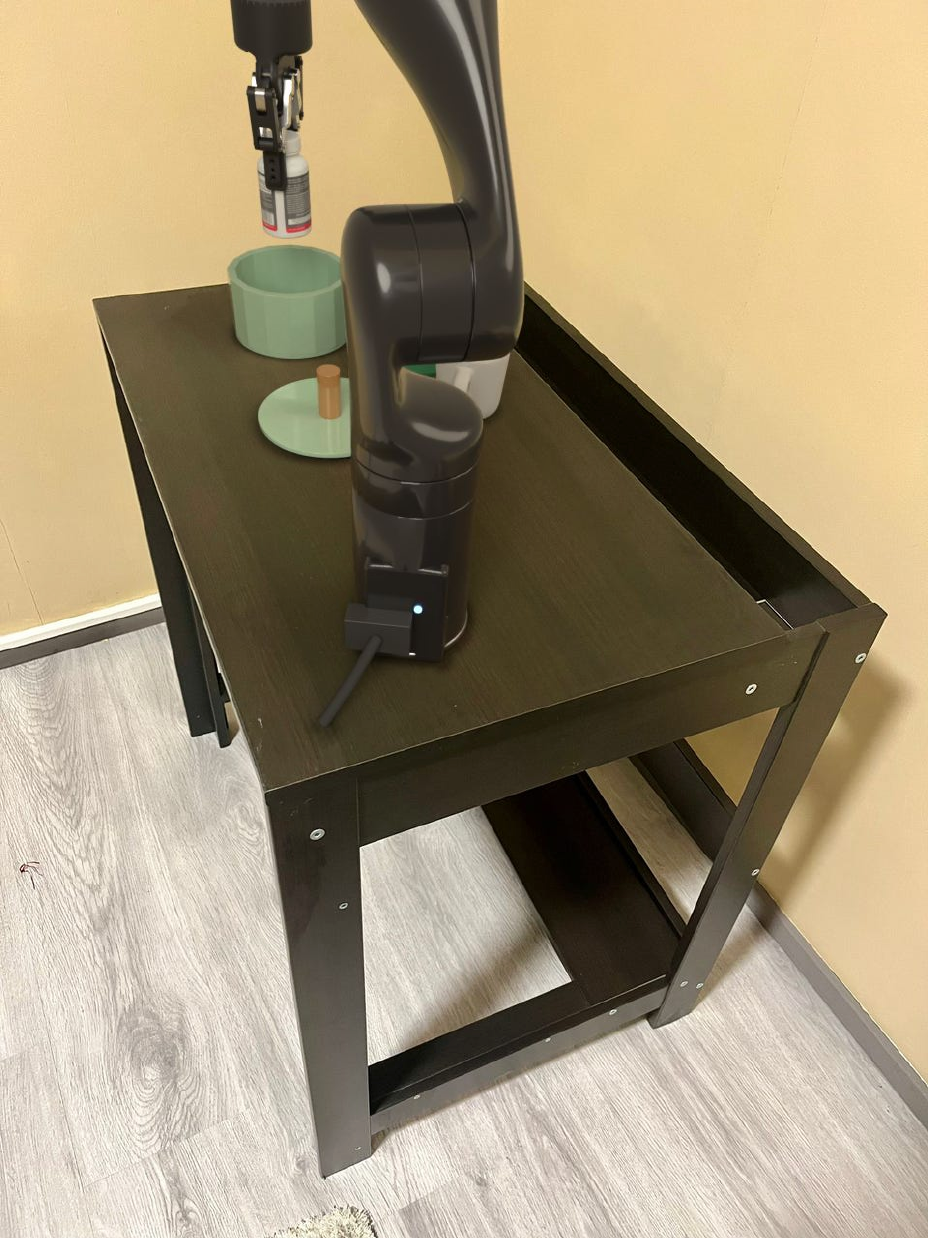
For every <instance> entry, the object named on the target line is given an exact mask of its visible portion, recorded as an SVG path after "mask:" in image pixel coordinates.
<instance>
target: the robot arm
mask: <svg viewBox="0 0 928 1238" xmlns="http://www.w3.org/2000/svg"><path fill="white" fill-rule="evenodd" d="M353 1H354V3H355V5H356V7H357V8H358V10H359V11H360V13H361V15H362V16H363V18H364V19H365V21H366V23H367V25H368V26H369V28H370V29H371V31H372V32H373V34H374V35H375V37H376V38H377V40H378V41H379V43H380V44H381V46H382V47H383V48H384V50H385V52H386V53H387V54H388V56H389V57H390V59H391V60H392V62H393V63H394V65H395V66H396V67H397V69H398V70H399V72H400V73H401V75H402V76H403V78H404V80H405V81H406V82H407V84H408V85H409V87H410V89H411V91H412V92H413V94H414V95H415V97H416V99H417V100H418V102H419V104H420V107H421V108H422V110H423V111H424V113H425V115H426V118H427V119H428V122H429V124H430V126H431V128H432V130H433V131H432V132H433V133H434V136H435V139H436V141H437V143H438V144H437V145H438V147H439V149H440V152H441V156H442V158H443V162H444V166H445V170H446V172H447V178H448V181H449V186H450V191H451V196H452V202H429V203H428V202H427V203H424V202H423V203H392V204H391V203H389V204H388V203H387V204H386V203H385V204H370V205H363V206H359V207H356V208H355V209H354V210H353V211H351V212H350V214H349V216H348V217H347V218H346V221H345V223H344V227H343V230H342V235H341V239H340V240H341V241H340V256H339V257H340V271H341V289H342V300H343V311H344V321H345V332H346V343H345V344H346V355H347V374H348V375H347V376H348V377H347V378H349V406H350V455H351V456H350V495H351V496H350V497H351V499H350V501H351V502H350V503H351V532H352V533H351V535H352V536H351V538H352V573H353V574H352V575H353V576H352V577H353V579H352V580H353V602H348V603H347V607H346V610H345V615H344V619H343V626H344V627H343V628H344V629H343V631H344V649H345V650H354V651H361V653H359V656H358V657H357V659H356V661H355V663H354V665H352V667H351V669H350V670H349V673H348V674H347V676H346V678H345V679H344V681H343V682H342V684H341V686H340V687H339V688H338V689H337V691H336V692H335V694H334V696H333V697H332V699H331V700H330V701H329V703H328V704H327V706H326V707H325V708H324V710H323V711H322V713H321V714H320V715H319V716H318V718H317V720H316V722H317V723H318V724H320V726H322V727H324V728H326V729H327V728H328V727H329V726H330V725H331V723H332V722H333V720H334V719H335V718H336V716H337V715H338V714H339V712H340V711H341V709H342V708H343V706H344V705H345V703H346V702H347V700H349V697H350V696H351V694H352V693H353V691H354V690H355V689H356V687H357V685H358V684H359V682H360V680H361V678H362V677H363V675H364V674H365V672H366V670H367V669H368V667H369V665H370V663H371V662H372V660H373V659H374V656H376V657H387V658H394V659H400V660H415V661H423V662H433V663H441V662H442V661H443V660H444V659H443V657H444V654H445V652H447V651H448V650H450V649H451V648H453V647H454V646H455V645H456V644H457V643H458V642H459V641H460V640H461V639H462V637H463V636H464V634H465V631H466V629H467V624H468V602H469V601H468V600H469V590H470V578H471V570H472V569H471V568H472V558H473V547H474V537H475V536H474V535H475V527H476V516H477V506H478V505H477V504H478V496H479V487H480V475H481V468H482V467H481V465H482V456H483V445H484V438H485V437H484V435H485V420H484V419H483V416H482V412H481V410H480V408H479V406H478V405H477V403H476V402H475V401H474V400H473V399H472V398H471V397H470V396H469V395H468V394H467V393H466V392H464V391H463V390H461V389H459V388H458V387H456V386H454V385H452V384H449V383H447V382H445V381H442V380H439V379H436V378H433V377H429V376H426V375H423V374H420V373H417V372H414V371H412V370H410V369H408V368H406V367H404V366H411V365H412V366H416V365H431V364H447V363H458V362H460V363H461V362H475V361H488V360H495V359H500V358H503V357H505V356H507V355H508V354H509V353H510V354H511V352H513V350H514V348H515V347H516V345H517V343H518V340H519V337H520V333H521V330H522V325H523V318H524V308H525V307H524V306H525V273H524V260H523V259H524V258H523V251H522V240H521V239H522V238H521V230H520V222H519V221H520V220H519V213H518V205H517V197H516V188H515V183H514V174H513V166H512V157H511V150H510V141H509V134H508V127H507V126H508V125H507V117H506V110H505V109H506V108H505V101H504V90H503V79H502V65H501V51H500V31H499V29H500V28H499V9H498V0H353ZM229 2H230V3H229V4H230V12H231V14H230V15H231V24H232V33H233V42H234V44H235V46H236V47H237V49H239V50H240V51H243V52H244V53H250V54H251V55H252V56H253V57H254V58H255V65H254V66H255V71H252V74H251V85H247V87H246V91H245V94H246V99H247V103H248V104H247V106H248V112H249V118H250V127H251V133H252V141H253V142H252V143H253V147H254V150H255V151H260V152H262V155H263V164H264V176H265V186H266V188H267V189H268V190H274V191H285V190H286V188H287V186H288V182H287V167H286V152H285V150H286V130H290V131H294V132H297V133H299V132H301V131H300V130H301V127H302V126H301V125H302V123H301V121H303V120H304V117H305V112H304V81H303V80H304V78H303V77H304V76H303V72H304V71H303V66H304V60H303V56H302V55H303V54H306V53H308V52H309V51H310V50H311V49H312V47H313V44H314V39H313V21H312V17H313V16H312V0H229ZM267 129H269V130H271V131H272V137H273V138H269V137H267V131H268V130H267Z"/></svg>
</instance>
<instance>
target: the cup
mask: <svg viewBox="0 0 928 1238" xmlns="http://www.w3.org/2000/svg"><path fill="white" fill-rule="evenodd" d="M510 357H511V352H510V353H509V354H508V355H507V356H505V357H503V358H500V359H495V360H488V361H475V362H461V363H460V362H458V363H447V364H436V379H439V380H442V381H445V382H447V383H449V384H452V385H454V386H456V387H458V388H459V389H461V390H463V391H464V392H466V393H467V394H468V395H469V396H470V397H471V398H472V399H473V400H474V401H475V402H476V403H477V405H478V406H479V408H480V410H481V412H482V416H483V420H484V419H487V418H489V417H490V416H492V415H493V414H494V413H495V412H496V411H497V409H498V406H499V404H500V401H501V396H502V392H503V388H504V384H505V379H506V375H507V374H506V373H507V370H508V365H509V360H510Z"/></svg>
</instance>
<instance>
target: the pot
mask: <svg viewBox="0 0 928 1238" xmlns="http://www.w3.org/2000/svg"><path fill="white" fill-rule="evenodd" d="M340 257H341V256H338V255H337V254H336V253H335V252H332V251H329V250H325V249H322V248H319V247H315V246H308V245H298V244H278V245H277V244H276V245H266V246H262V247H259V248H254V249H251V250H250V249H249V250H246V251H244V252H242V253H241V254H239V255H238V256H236V257H234V258H233V259H232V260H231V261H230V263H229V265H228V266H227V268H226V272H227V279H228V280H227V281H228V290H229V297H230V307H231V315H232V322H233V328H234V332H235V337H236V338H237V340H238V342H239V343H240V344H241V345H242V346H243V347H244V348H246V349H247V350H250V351H252V352H254V353H256V354H259V355H262V356H265V357H270V358H275V359H282V360H283V359H284V360H285V359H286V360H300V359H301V360H302V359H311V358H316V357H320V356H324V355H328V354H330V353H332V352H333V353H334V352H335V351H336V350H339V349H340V348H341V347H343V346H344V345H345V344H346V332H345V321H344V311H343V300H342V289H341V271H340Z"/></svg>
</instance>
